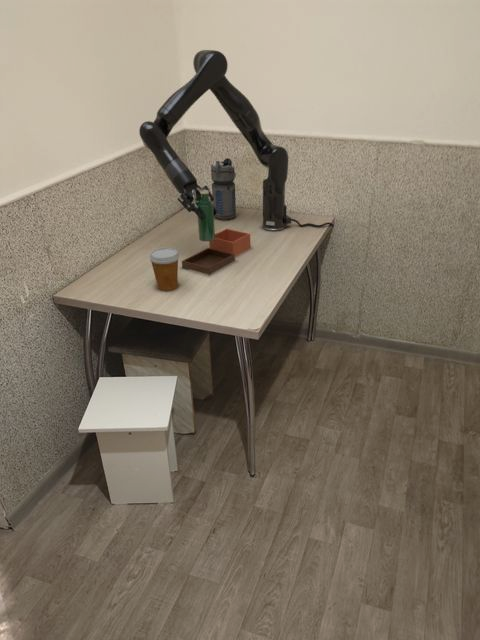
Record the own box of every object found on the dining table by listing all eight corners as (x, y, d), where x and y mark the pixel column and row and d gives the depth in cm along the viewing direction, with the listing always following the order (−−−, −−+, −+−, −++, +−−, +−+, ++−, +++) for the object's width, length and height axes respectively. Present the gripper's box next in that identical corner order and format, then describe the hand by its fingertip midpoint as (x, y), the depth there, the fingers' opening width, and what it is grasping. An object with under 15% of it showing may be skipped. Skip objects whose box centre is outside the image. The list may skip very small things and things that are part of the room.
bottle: (212, 234, 182) (209, 188, 173) (217, 240, 178) (214, 192, 169) (197, 237, 180) (193, 189, 171) (201, 242, 176) (198, 194, 167)
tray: (208, 254, 192) (208, 247, 191) (235, 261, 187) (234, 254, 185) (182, 268, 182) (181, 261, 180) (209, 275, 176) (208, 268, 175)
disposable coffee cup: (187, 283, 171) (184, 249, 165) (173, 295, 163) (170, 260, 157) (161, 279, 174) (157, 245, 167) (147, 290, 166) (142, 256, 160)
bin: (227, 242, 203) (226, 228, 200) (250, 248, 198) (250, 233, 194) (209, 251, 195) (208, 236, 192) (233, 257, 190) (233, 242, 186)
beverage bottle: (241, 213, 234) (240, 156, 221) (229, 222, 224) (227, 163, 210) (221, 211, 237) (219, 154, 224) (208, 219, 227) (205, 161, 213)
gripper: (171, 173, 165) (202, 215, 166) (199, 164, 175) (228, 204, 176) (160, 187, 170) (190, 228, 171) (188, 178, 181) (217, 217, 181)
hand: (209, 216), depth 174 cm, fingers closed on bottle, 5 cm apart
